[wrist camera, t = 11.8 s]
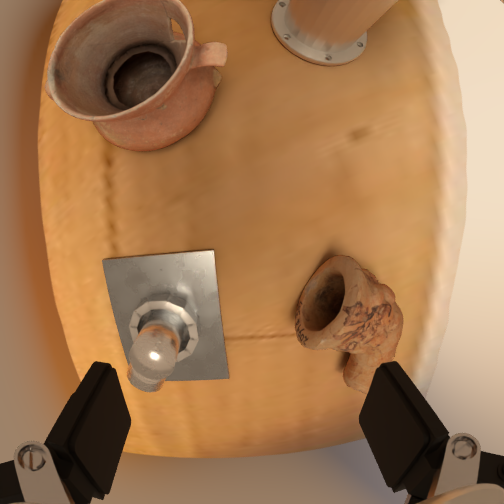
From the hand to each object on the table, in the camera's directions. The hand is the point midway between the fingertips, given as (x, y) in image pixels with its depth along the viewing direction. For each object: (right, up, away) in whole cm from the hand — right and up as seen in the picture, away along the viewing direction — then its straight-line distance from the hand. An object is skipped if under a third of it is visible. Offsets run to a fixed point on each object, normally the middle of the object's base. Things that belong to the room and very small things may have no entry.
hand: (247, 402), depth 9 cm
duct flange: (-11, -4, +26) cm, 28 cm away
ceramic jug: (-12, +23, +20) cm, 33 cm away
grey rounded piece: (-11, -5, +26) cm, 28 cm away
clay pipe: (+12, -3, +28) cm, 31 cm away
